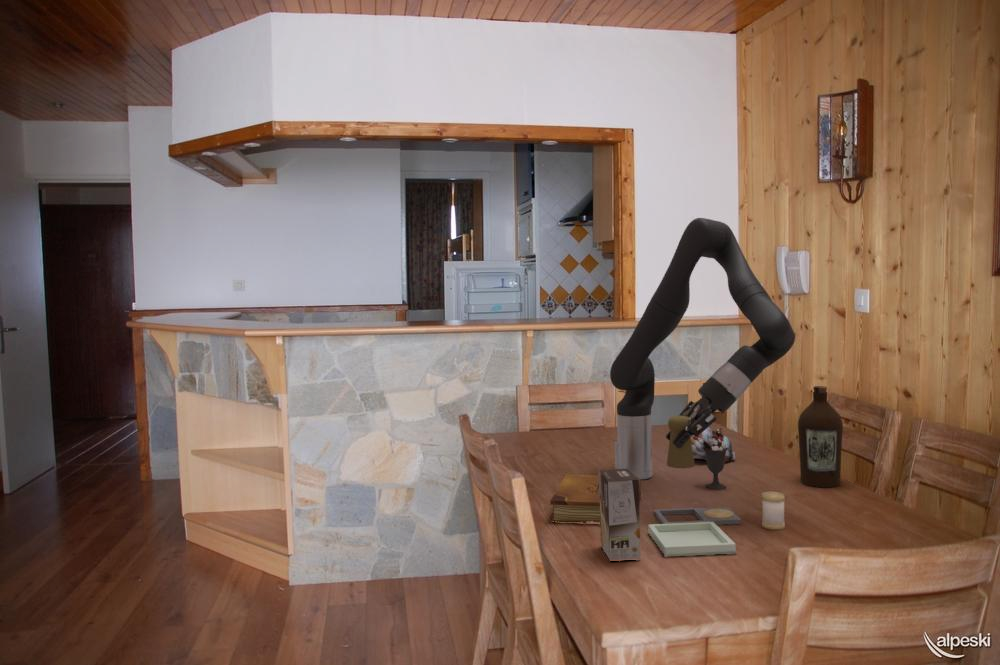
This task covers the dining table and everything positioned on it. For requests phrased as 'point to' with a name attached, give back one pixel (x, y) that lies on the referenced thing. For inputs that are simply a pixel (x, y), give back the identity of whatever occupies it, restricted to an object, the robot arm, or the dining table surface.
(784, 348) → the robot arm
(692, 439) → the lucky cat figurine
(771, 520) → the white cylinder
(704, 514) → the socket block
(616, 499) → the coffee box
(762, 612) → the dining table surface
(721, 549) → the parts tray
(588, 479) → the diary
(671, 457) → the cork
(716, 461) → the sundae
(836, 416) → the olive oil
